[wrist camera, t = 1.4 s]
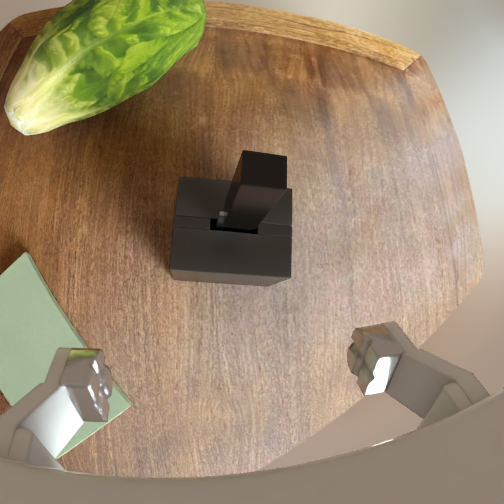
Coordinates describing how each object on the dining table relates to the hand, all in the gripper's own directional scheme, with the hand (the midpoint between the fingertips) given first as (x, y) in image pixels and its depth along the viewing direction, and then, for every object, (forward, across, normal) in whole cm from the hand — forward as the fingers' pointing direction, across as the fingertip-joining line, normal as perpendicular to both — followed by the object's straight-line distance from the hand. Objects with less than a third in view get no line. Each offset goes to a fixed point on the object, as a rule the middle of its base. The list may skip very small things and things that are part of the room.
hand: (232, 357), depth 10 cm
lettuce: (+37, -12, +10) cm, 40 cm away
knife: (+23, +2, -7) cm, 24 cm away
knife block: (+24, +2, -8) cm, 25 cm away
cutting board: (+16, -20, -16) cm, 31 cm away
